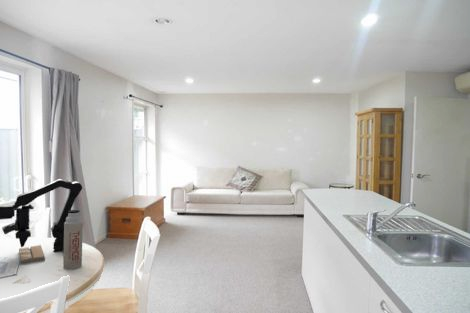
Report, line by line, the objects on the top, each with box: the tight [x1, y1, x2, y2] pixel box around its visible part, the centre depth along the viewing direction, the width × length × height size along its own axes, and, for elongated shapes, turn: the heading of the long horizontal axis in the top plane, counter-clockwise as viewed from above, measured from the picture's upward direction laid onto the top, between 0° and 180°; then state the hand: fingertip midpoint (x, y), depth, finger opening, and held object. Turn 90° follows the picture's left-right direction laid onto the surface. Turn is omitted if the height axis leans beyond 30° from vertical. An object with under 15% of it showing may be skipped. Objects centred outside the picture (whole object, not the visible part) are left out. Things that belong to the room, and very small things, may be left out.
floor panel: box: [18, 244, 46, 265], centre depth 154 cm, size 20×10×2 cm, turn 38°
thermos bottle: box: [62, 209, 84, 271], centre depth 143 cm, size 8×8×28 cm
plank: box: [18, 246, 32, 261], centre depth 152 cm, size 19×4×1 cm, turn 38°
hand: (22, 246), depth 155 cm, fingers closed
